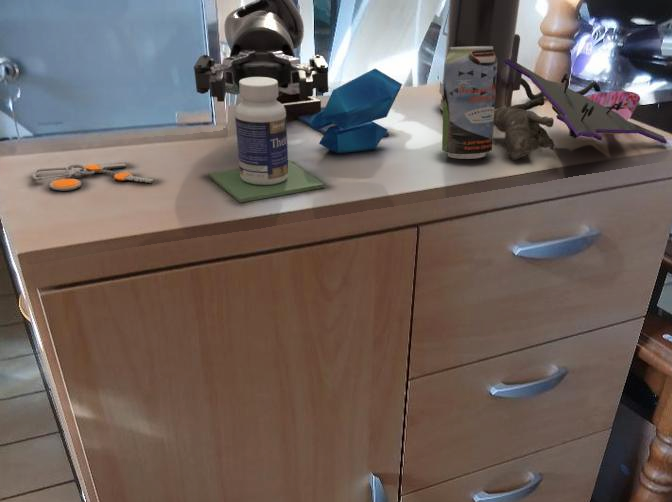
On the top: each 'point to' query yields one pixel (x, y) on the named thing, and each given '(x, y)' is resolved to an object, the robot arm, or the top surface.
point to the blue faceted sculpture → (357, 113)
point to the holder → (299, 105)
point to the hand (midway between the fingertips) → (261, 90)
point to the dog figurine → (523, 128)
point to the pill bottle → (261, 132)
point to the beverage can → (469, 101)
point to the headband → (611, 98)
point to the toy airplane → (583, 110)
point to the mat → (249, 192)
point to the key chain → (74, 183)
